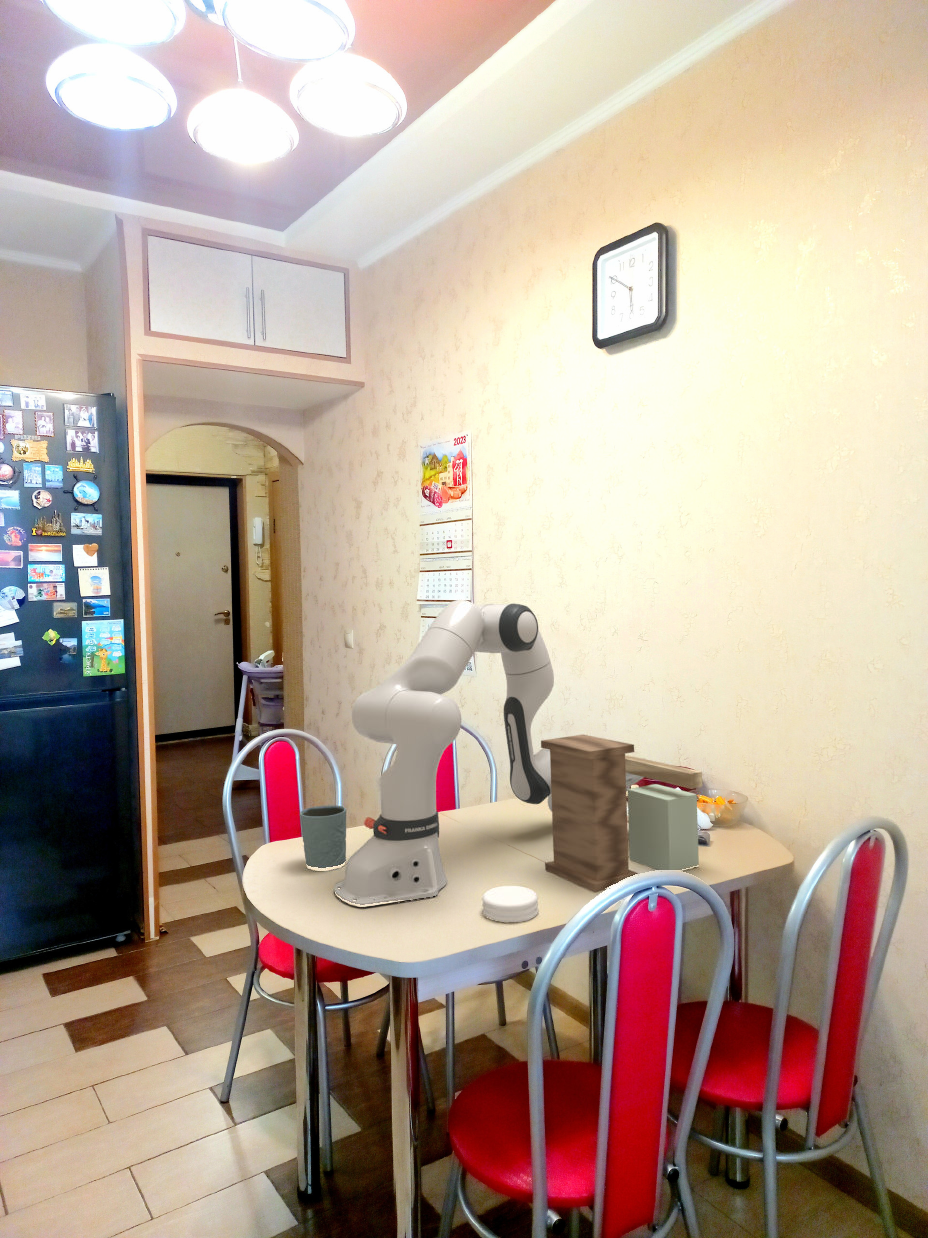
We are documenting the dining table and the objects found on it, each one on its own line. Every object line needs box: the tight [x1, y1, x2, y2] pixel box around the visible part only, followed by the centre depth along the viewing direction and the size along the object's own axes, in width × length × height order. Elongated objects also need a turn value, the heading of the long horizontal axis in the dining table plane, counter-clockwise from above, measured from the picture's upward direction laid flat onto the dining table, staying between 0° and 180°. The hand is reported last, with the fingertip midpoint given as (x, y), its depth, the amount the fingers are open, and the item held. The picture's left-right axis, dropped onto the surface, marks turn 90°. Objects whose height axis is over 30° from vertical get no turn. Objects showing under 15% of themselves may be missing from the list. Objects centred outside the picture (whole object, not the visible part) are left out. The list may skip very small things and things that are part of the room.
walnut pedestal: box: [540, 734, 639, 893], centre depth 167 cm, size 11×16×27 cm
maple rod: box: [625, 754, 703, 790], centre depth 174 cm, size 3×24×3 cm, turn 30°
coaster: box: [481, 885, 539, 924], centre depth 149 cm, size 10×10×4 cm
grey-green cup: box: [299, 804, 347, 868], centre depth 180 cm, size 10×10×12 cm
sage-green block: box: [627, 783, 700, 872], centre depth 173 cm, size 8×12×15 cm, turn 30°
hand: (628, 762), depth 182 cm, fingers closed on maple rod, 3 cm apart
